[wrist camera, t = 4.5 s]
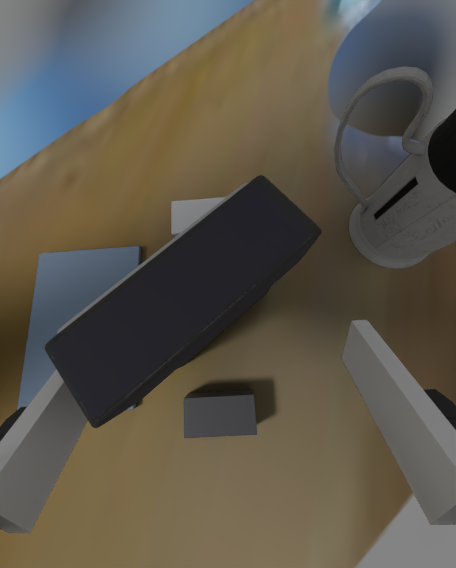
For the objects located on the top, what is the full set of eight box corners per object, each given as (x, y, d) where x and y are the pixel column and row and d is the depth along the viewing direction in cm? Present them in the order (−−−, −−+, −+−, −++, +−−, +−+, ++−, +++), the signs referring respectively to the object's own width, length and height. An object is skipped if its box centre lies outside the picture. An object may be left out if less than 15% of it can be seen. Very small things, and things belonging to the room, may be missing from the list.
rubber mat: (22, 413, 22) (16, 415, 21) (44, 255, 25) (39, 253, 25) (136, 407, 21) (133, 409, 21) (141, 248, 25) (138, 246, 25)
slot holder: (187, 428, 21) (171, 456, 16) (184, 227, 25) (171, 201, 21) (257, 425, 21) (263, 452, 16) (241, 223, 25) (242, 195, 20)
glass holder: (429, 278, 23) (762, 174, 8) (290, 243, 24) (367, 103, 10) (437, 203, 25) (721, 11, 10) (308, 175, 26) (394, -27, 12)
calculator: (243, 266, 24) (251, 157, 10) (271, 296, 23) (327, 227, 9) (161, 336, 23) (25, 332, 8) (187, 371, 22) (87, 435, 7)
